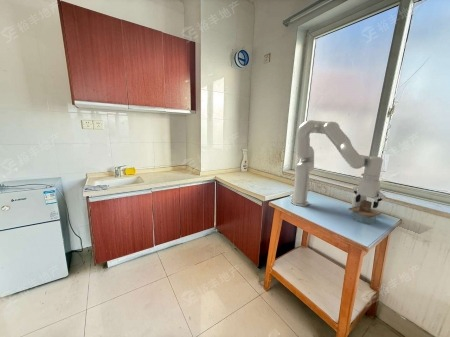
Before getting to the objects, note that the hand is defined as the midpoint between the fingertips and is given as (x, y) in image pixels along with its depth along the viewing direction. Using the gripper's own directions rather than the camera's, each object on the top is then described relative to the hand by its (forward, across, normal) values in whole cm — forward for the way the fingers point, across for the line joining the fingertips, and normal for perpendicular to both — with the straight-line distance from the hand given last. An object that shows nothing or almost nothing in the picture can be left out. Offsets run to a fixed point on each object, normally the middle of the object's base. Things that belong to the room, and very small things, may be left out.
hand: (365, 204), depth 115 cm
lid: (+5, 0, 0) cm, 5 cm away
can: (+10, -10, +11) cm, 18 cm away
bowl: (+10, 0, 0) cm, 10 cm away
